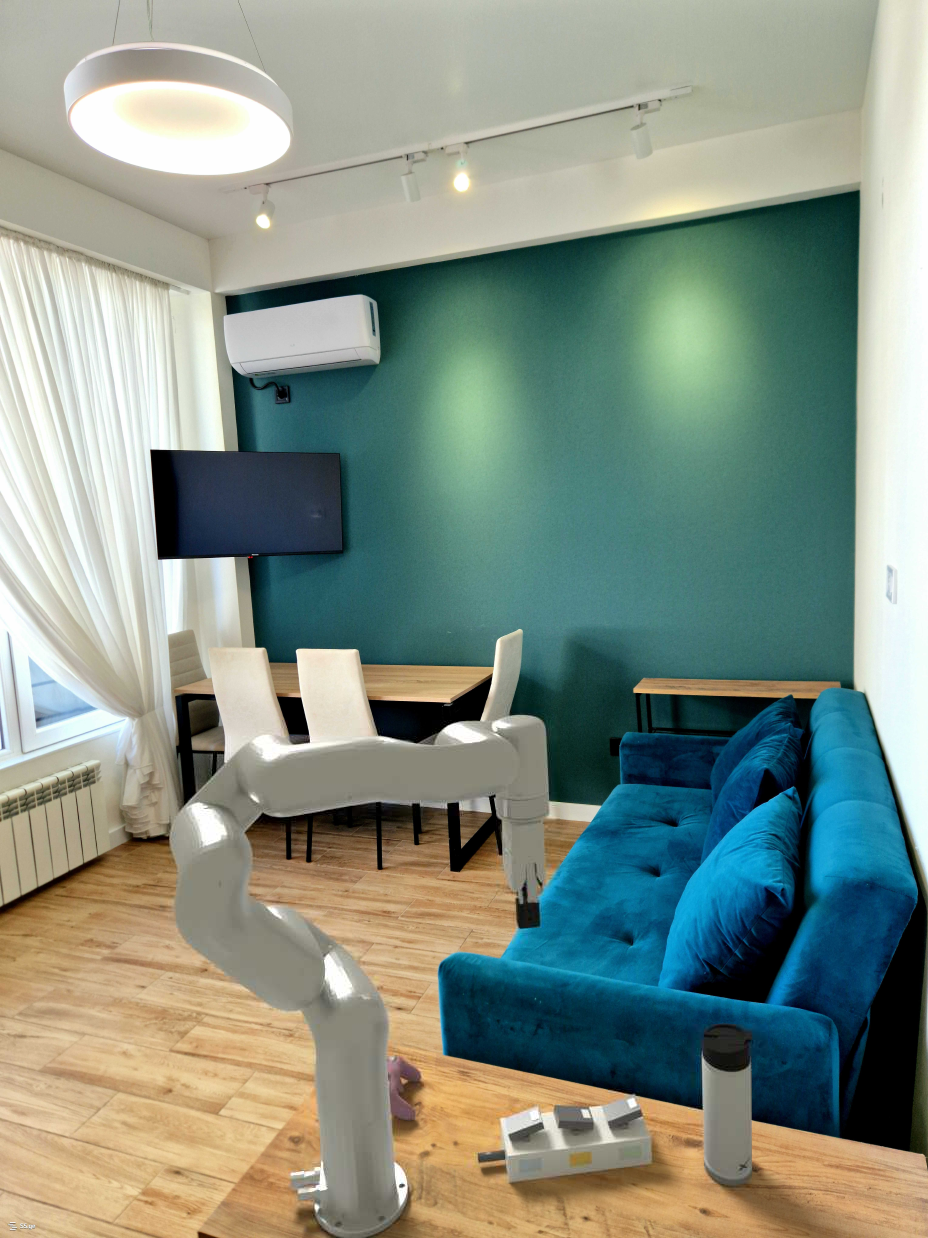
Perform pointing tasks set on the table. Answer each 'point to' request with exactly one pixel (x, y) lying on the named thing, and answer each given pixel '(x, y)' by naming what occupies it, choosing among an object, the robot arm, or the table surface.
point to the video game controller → (400, 1086)
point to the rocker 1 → (524, 1123)
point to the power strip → (572, 1148)
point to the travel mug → (727, 1103)
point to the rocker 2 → (622, 1111)
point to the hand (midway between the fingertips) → (528, 925)
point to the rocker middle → (573, 1117)
